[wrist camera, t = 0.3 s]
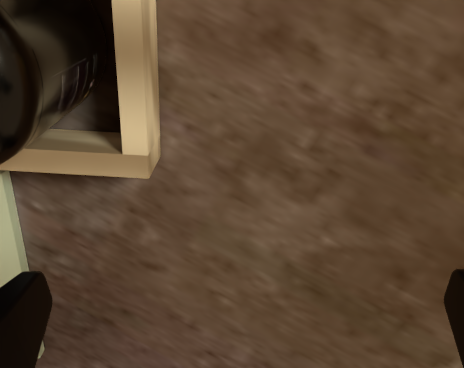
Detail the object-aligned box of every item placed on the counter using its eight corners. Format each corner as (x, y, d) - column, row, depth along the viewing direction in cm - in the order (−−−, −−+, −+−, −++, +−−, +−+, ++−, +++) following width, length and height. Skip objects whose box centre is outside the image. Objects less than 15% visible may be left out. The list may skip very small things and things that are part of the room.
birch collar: (160, 155, 24) (148, 178, 21) (-44, 144, 24) (-82, 165, 21) (153, -88, 19) (136, -100, 16) (-105, -100, 19) (-164, -113, 16)
